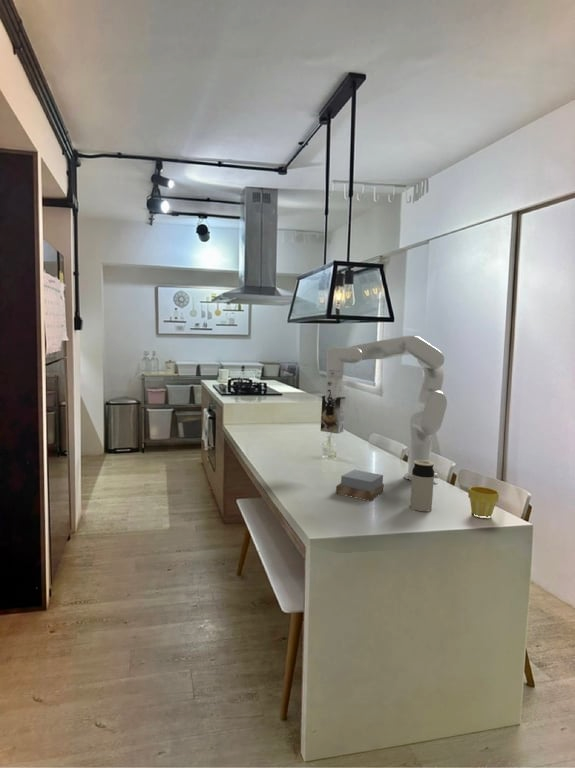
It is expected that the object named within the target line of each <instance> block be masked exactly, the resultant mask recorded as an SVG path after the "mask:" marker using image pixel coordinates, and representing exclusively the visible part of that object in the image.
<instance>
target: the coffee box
mask: <svg viewBox="0 0 575 768" xmlns="http://www.w3.org/2000/svg"><path fill="white" fill-rule="evenodd" d="M329 399H332V398H330V397H329ZM346 399H347V397H345V396H343V397H337V400H333V415H326V401H325V395H322V397H321V415H320V432H325V433H331V434H341V433H344V427H345V413H346V412H345V411H346ZM330 402H331V401H330Z"/></svg>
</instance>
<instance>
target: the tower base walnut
mask: <svg viewBox="0 0 575 768" xmlns="http://www.w3.org/2000/svg"><path fill="white" fill-rule="evenodd" d="M384 487H385V486H384V483H383V484H382V485H381V486H379V487H378V488H376V489H375V490H373V491H372V492H369V491H364V490H360V489H355V488H350V487H345V486H341V482H340V483H339V484H337V485H336V486H335V495H338V494H342V495H341V496H343V495H347V496H346V497H348V496H352V497H351V498H353V497H357V498H361V499H360V500H362V499H365V500H364V501H367V500H369V501H368V502H372V501H373V500H375V499H376V498H378V497H379V496H380V495H381V494H382V492H383V493H384ZM378 495H379V496H378ZM357 498H356V499H357ZM374 498H375V499H374Z"/></svg>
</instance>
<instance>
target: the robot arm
mask: <svg viewBox="0 0 575 768" xmlns="http://www.w3.org/2000/svg"><path fill="white" fill-rule="evenodd" d="M326 351H327V355H326V356H327V357H326V375H325V376H326V382H325V383H326V384H325V393H324V396H325V401H326V415H333V400H337V397H344V369H345V367H344V365H345V364H351V365H357V364H359V363H360V362H361V361H367V360H387V359H391V358H397V357H403V356H410V355H411V356H412V357H414V358H415V359H416V360H417V362H418V365H419V366H420V367H421V368H422V370H423V374H424V377H423V382H422V385H421V387H420V388H421V389H420V392H419V395H418V404H419V405H420V407H422V408H424V409H423V410H417V411H415V412H413V414H412V415H411V417H410V419H409V427H410V428H409V429H410V438H409V439H410V440H409V442H410V443H409V451H408V454H409V455H408V469H407V472H406V473H404V476H403V477H404V478H405V479H407V480H408V479H409V481H412V470H413V468H414V466H415V464H414V461H415V460H427V461H431V454H432V443H433V442H432V440H433V439H432V436H434V435H436V434H437V433H439V431H440V429H441V427H442V424H443V421H444V417H445V413H446V409H447V406H448V399H447V396H446V394H445V393H444V392H442V387H443V382H444V376H445V375H444V370H443V367H442V366H443V365H444V363H445V356H444V354H443V352H441V350H439V349H438V348H436V347H435V346H433V345H432V344H431V343H429V342H427V341H426V340H424V339H423V338H421V337H420V336H417V335H405V336H404V335H403V336H398V337H393V338H386V339H380V340H377V341H372V342H368V343H367V342H366V343H362V344H356V345H350V346H347V347H342V346H329V347H328V348H327V350H326ZM329 397H330V398H332V399H329ZM330 401H331V402H330ZM439 477H440V476H439V474H438V473H437V472H434V479H439Z"/></svg>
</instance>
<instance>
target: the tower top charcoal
mask: <svg viewBox="0 0 575 768" xmlns="http://www.w3.org/2000/svg"><path fill="white" fill-rule="evenodd" d="M340 479H341V481H340V483H341V486H345V487H350V488H355V489H360V490H364V491H369V492H372V491H373V490H375V489H376V488H378V487H379V486H381V485H382V484H384V482H383V481H384V474H380V473H374V472H369V471H362V470H358V469H353V470H350V471H348V472H346V473H345V474H343V475H341V478H340Z"/></svg>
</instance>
